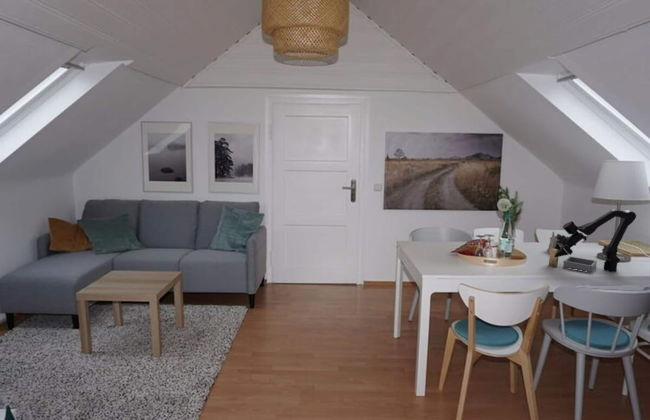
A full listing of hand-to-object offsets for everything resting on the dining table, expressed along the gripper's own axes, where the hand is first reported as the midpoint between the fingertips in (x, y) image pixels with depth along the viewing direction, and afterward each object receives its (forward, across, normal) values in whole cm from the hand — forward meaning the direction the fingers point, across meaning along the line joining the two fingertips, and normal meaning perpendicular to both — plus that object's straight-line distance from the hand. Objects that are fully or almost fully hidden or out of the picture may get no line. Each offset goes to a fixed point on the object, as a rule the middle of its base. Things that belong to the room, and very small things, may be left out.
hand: (552, 254), depth 299 cm
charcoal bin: (-7, -1, +17) cm, 18 cm away
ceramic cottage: (-5, -39, +16) cm, 42 cm away
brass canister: (+5, 0, +6) cm, 7 cm away
